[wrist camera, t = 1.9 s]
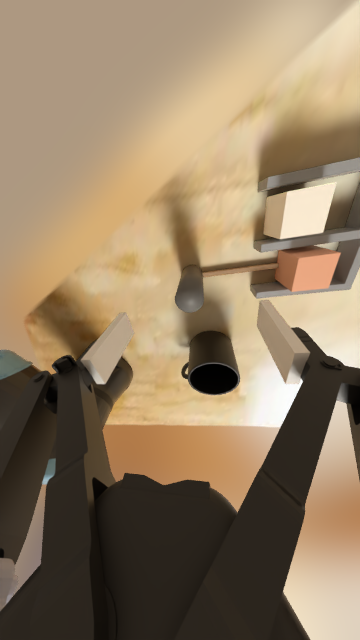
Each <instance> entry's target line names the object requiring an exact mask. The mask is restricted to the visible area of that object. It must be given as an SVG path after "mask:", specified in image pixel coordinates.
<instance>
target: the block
mask: <svg viewBox="0 0 360 640" xmlns="http://www.w3.org/2000/svg"><path fill="white" fill-rule="evenodd" d="M336 183H337V182H334V183H329V184H324V185H319V186H314V187H308V188H303V189H298V190H293V191H288V192H284V193H281V194H277V195H273V196H270V197H267V203H266V213H265V223H264V233H263V234H264V235H267V236H270V237H274V238H277V239H285V238H292V237H298V236H305V235H312V234H318V233H323V231H324V227H325V224H326V220H327V216H328V213H329V209H330V205H331V202H332V198H333V194H334V191H335V187H336Z"/></svg>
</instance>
